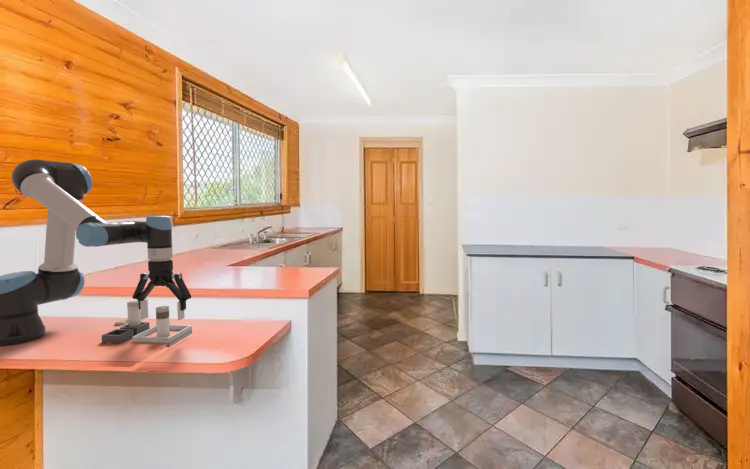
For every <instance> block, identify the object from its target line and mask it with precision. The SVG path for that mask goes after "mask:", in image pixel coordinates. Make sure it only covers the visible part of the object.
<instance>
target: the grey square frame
mask: <svg viewBox="0 0 750 469" xmlns="http://www.w3.org/2000/svg"><path fill="white" fill-rule="evenodd" d="M149 328H150V329H148V330H146V331H144V332H142V333H139V334H137V335H135V336H133V337H132V338H131V340H132V342H134V343H167V344H166V345H165V346H164V348H170V347H172V346H174V345H175V344H177V343H179V342H180V341H182V340H184V339H186V338H187V337H189V336H191V335H192V334H193V326H192V324H191V325H190V324H187V325H185V324H184V325H183V324H170V331H173V330H174V331H177V332H176V333H174V334H172V335H171V336H170V335H169V336H167V337H157V336H148V335H150V334H152V333H154V332H157V324H156V325H154V326H151V327H149Z"/></svg>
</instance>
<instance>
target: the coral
mask: <svg viewBox="0 0 750 469" xmlns="http://www.w3.org/2000/svg"><path fill="white" fill-rule="evenodd" d="M127 324H128V317H126V318H125V319H122V320H119V321H115V322H114V326H125V325H127Z"/></svg>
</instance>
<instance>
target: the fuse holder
mask: <svg viewBox="0 0 750 469" xmlns="http://www.w3.org/2000/svg"><path fill="white" fill-rule="evenodd" d="M150 328H151V327H150V321H149V322H148V321H147V322H146V321H141V325H140V326H138V327H128V324H124V325H121V326H120V327H119V328H116V329H113V330H111V331H108V332H106V333H104V334H102V335H101V342H99V345H100V344H106V345H120V344H122V343H124V342H126V341H129V340H130V339H131V340H132V337H133V336H135V335H137V334H139V333H142V332H144V331H146V330H148V329H150Z"/></svg>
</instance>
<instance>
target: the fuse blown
mask: <svg viewBox="0 0 750 469" xmlns="http://www.w3.org/2000/svg"><path fill="white" fill-rule="evenodd" d="M155 320H156V322H155V323H156V325H157V331H156V337H170V335H171V330H170V325H171V324H170V306H169V305H162V306H158V307H155Z"/></svg>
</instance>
